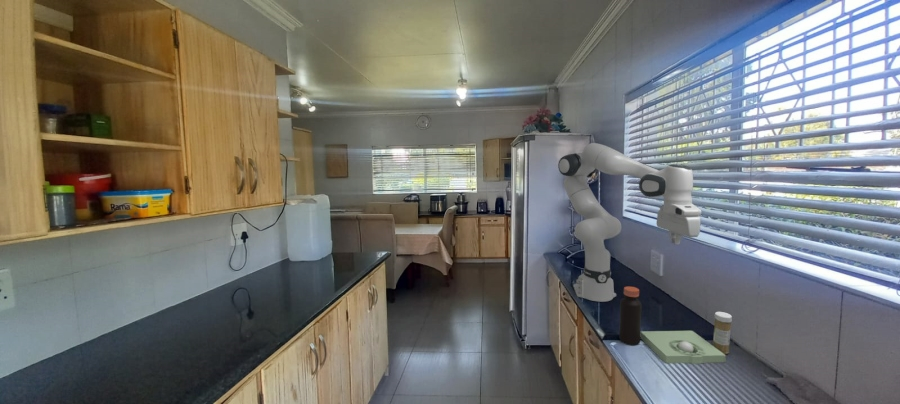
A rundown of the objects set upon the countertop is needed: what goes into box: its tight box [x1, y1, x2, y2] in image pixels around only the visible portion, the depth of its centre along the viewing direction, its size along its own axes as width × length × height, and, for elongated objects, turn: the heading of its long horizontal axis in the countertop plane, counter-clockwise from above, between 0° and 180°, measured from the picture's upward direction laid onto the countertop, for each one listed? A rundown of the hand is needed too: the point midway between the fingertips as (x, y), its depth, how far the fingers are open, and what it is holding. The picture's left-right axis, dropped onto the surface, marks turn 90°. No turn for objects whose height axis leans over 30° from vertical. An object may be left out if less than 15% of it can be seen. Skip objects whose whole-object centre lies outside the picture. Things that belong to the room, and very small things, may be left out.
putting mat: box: [640, 330, 727, 365], centre depth 119 cm, size 16×19×2 cm
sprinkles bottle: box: [712, 311, 733, 355], centre depth 116 cm, size 5×5×14 cm
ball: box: [678, 341, 694, 353], centre depth 116 cm, size 4×4×4 cm
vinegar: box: [618, 286, 643, 346], centre depth 124 cm, size 7×7×20 cm
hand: (675, 243), depth 129 cm, fingers closed
